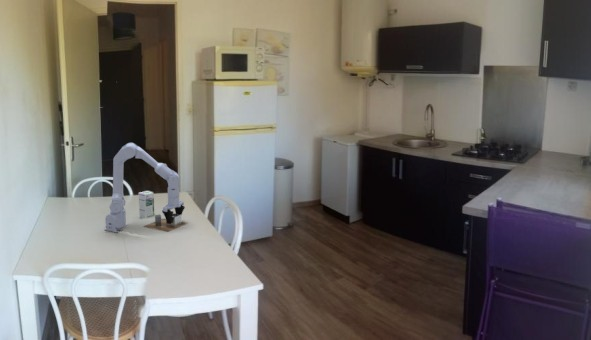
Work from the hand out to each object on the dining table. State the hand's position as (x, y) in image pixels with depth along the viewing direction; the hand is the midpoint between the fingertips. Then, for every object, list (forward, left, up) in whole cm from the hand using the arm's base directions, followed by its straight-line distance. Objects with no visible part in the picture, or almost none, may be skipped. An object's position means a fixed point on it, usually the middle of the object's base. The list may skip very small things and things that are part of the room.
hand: (173, 221), depth 249 cm
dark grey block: (-5, +6, -1) cm, 8 cm away
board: (-3, +3, -3) cm, 5 cm away
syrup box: (+5, +22, -3) cm, 23 cm away
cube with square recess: (0, 0, -1) cm, 1 cm away
